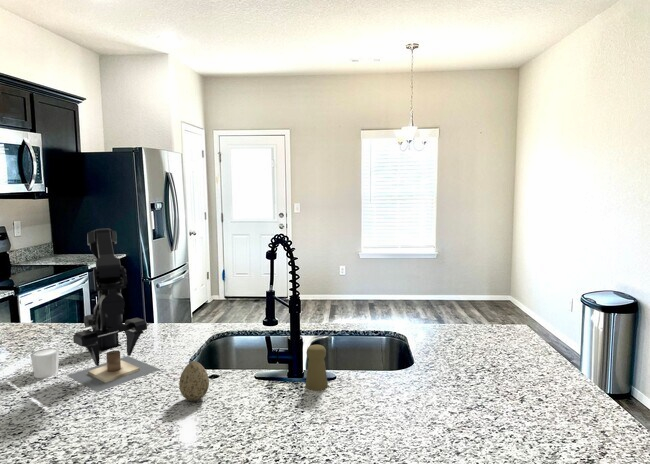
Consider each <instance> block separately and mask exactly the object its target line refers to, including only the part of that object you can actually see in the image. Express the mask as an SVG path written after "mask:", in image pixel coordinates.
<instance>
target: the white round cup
mask: <svg viewBox="0 0 650 464" xmlns="http://www.w3.org/2000/svg"><path fill="white" fill-rule="evenodd" d="M59 353H60V350H59V349H58V348H53V347H52V348H43V349H39V350H35V351H33V352H32V353H30V361H31V366H32V370H33V376H34V378H36V379H44V378H49V377H53V376H55V375H57V374H58V373H59V372H58V371H59V355H60V354H59Z"/></svg>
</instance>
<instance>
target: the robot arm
mask: <svg viewBox="0 0 650 464" xmlns="http://www.w3.org/2000/svg"><path fill="white" fill-rule="evenodd" d="M86 236H87V238H86V239H87V242H86V243H87V246H89V249H90V252H91V253H92V254H93V255H94V257H95V268H93V269H92V270H93V284H94V285H93V286H94V291H95V292H97V295H98V296H97V297H98V300H97V302H96V304H95V306H94V307H93V314H87V315H84V316H83V324H84V327H85V328H88V327H91V330H90V329H85V330H81V331H77V332H75V333H74V335H73V339H72V340H73V341H72V342H73V344H76V345H78V346H80V347H83V348H85V349H87V351H88V353H89V355H90V356H91V358H92V361H93V363H94V364H95V366H99V365H100V351H101V352H105V351H108V350H113V349H115V348H118V347H122V344H121V343H120V342H119V341H120V340H119V333H122V332H124V333H125V336H126V354H127V355H126V356H129V357H131V355H132V353H133V351H134V349H135V346H136V344H137V341H138V340H139V338H140V337H141V335H142V334H144V331H146V330H148V322H147V321H146V320H145V319H143V318H140V317H134V318H130V319H125V321H123V315H124V314H125V307H126V302H125V299H124V297H123V295H122V289H126V288H127V285H128V276H127V275H128V274H127V269H126V268H125V266H123V265H122V264H121V259H120V258H118V257H117V256H115V245H116V244H117V243H118V240H117V239H118V237H117V230H113V229H111V228H96V229H94V230H90V231H89V232H87V235H86ZM123 322H124V323H123Z"/></svg>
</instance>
